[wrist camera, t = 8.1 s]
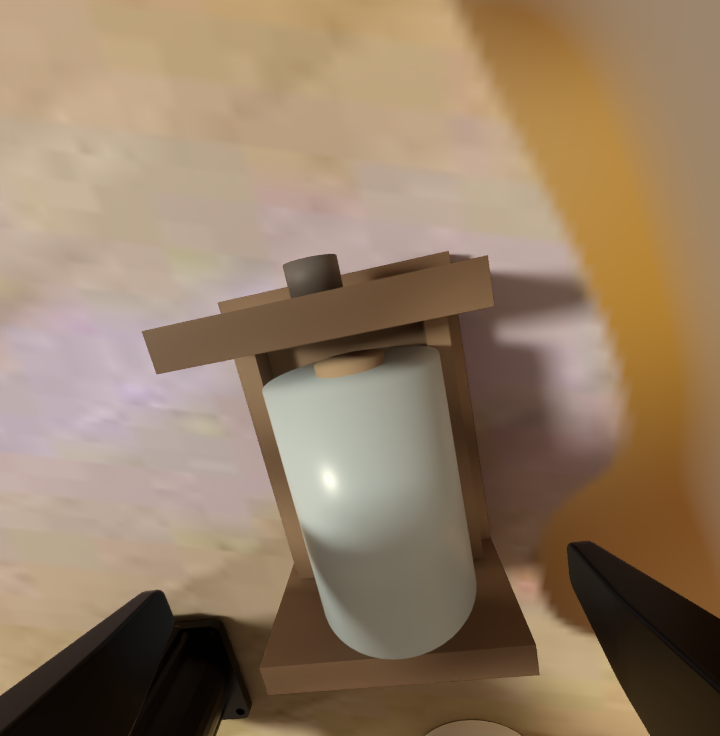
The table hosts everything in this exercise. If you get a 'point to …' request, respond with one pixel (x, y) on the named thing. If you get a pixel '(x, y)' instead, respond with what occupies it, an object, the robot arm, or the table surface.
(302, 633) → the holder
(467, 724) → the cylindrical container
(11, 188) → the table surface
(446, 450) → the roll
